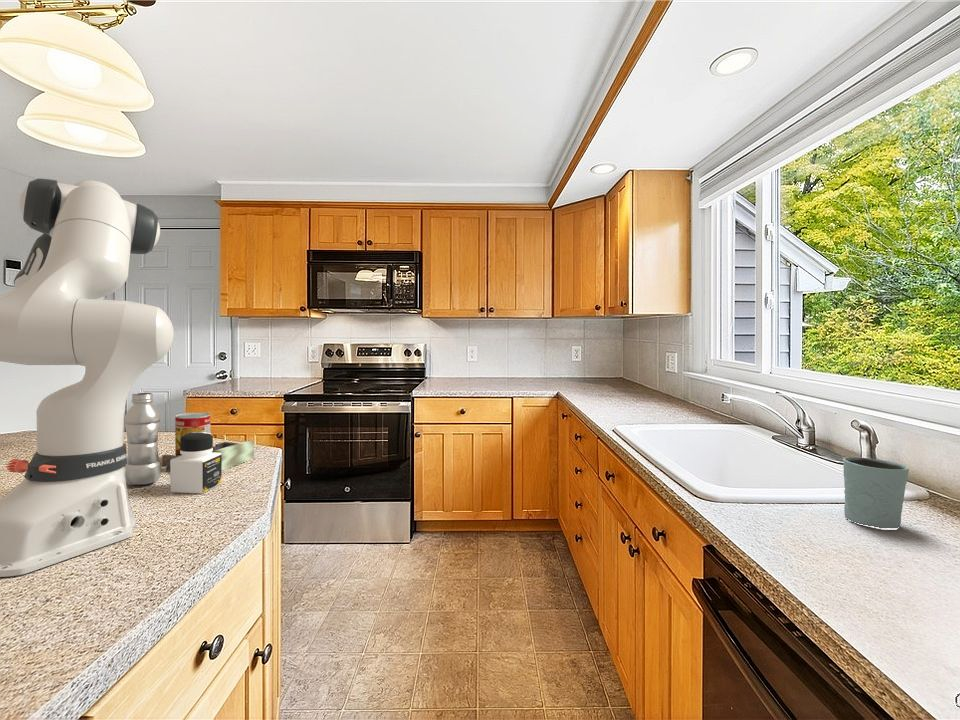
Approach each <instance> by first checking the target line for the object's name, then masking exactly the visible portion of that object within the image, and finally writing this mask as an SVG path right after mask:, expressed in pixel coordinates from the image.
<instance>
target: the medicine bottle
mask: <svg viewBox="0 0 960 720" xmlns="http://www.w3.org/2000/svg"><path fill="white" fill-rule="evenodd" d="M213 440H214V436H213V434H212V433H211V432H210V433H207V432H194V433H188V434H185V435H183V436H182V437H181V438H180V454H182V455H181V456H179V457H176V458H174V459H171V460H170V471H169V476H170V477H169V478H170V479H169V481H170V485H169V487H170V493H173V494H201V495H202V494H203V495H204V494H206V493H207V492H209V491H211V490H213V489H215V488H216V487H218V486H220V485H221V484H222V483H223V482H222V478H223V477H222V473H223V471H222V454H221V453H215V452H212V451H213V446H214V443H213V442H214V441H213Z"/></svg>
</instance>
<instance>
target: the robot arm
mask: <svg viewBox="0 0 960 720" xmlns="http://www.w3.org/2000/svg"><path fill="white" fill-rule="evenodd" d="M18 205H19V206H18V207H19V210H20V214H21V217H22V219H23V222H24V223H25V224H26V225H27V226H28V227H29V228H30V229H31V230H34V231H37V232H38V233H41V235H40V236H38V237H37V238H36V240H35V241H34V243H33V245H32V247H31V249H30V251H29V253H28V256H27V259H26V261H25V262H24V265H23V268H22V269H20V270H19V271H18V273H17V274H16V275H15V277H14V279H13V285H14V289H12V290H11V291H8V292H6V293H4V294H1V295H0V362H3V363H8V364H9V363H10V364H15V365H16V364H17V365H25V366H81V367H85V369H84V375H83V377H82V379H81V380H80V381H78V382H76V383H74V384H70V385H67V386H65V387H63V388H61V389H58V390H56V391H54V392H53V393H50V394H49V395H47V396H46V397H44V398H43V399H42V400H41V401H40V403H39V405H38V406H37V408H36V411H35V412H36V446H37V447H36V449H37V450H36V451H35V452H34V454H33V455H32V457H31V459H30V462H29V461H28V460H26V459H20V458H12V459H10V460H9V461H8V463H6V466H5V468H6V471H8V472H9V473H18V474H22V473H24V475H23V477H24V479H23V480H22V481H21V482H20V483H19V484H17V485H16V486H15V487H13V489H12V490H10V491H9V492H8V493H7V494H5V495H4V496H3V497H2V498H1V499H0V578H3V577H15V576H22V575H25V574H28V573H31V572H34V571H37V570H39V569H43V568H46V567H49V566H52V565H55V564H57V563H61V562H63V561H66V560H69V559H71V558H74V557H77V556H80V555H82V554H83V555H84V554H86V553H89V552H92V551H94V550H97V549H101V548H103V547H106V546H109V545H112V544H114V543H115V544H116V543H118V542H120V541H124V540H126V539H129V538H131V537H132V536H134V531H133V528H134V527H135V525H136V523H137V521H136V517H135V515H134V513H133V510H132V507H131V502H130V500H129V494H128V488H127V481H126V478H125V468H126V464H127V455H128V449H127V444H126V443H125V442H124V427H125V423H124V417H125V414H126V413H125V411H126V404H127V399H128V396H129V393H130V391H131V389H132V388H133V386H134V384H135V383H136V381H138V380H137V379H139V377H140V376H141V375H142V374H143V373H145V371H146V370H147V369H149V368H150V367H152V365H154V364H155V363H157V362H159V361H160V360H162V359H163V358H164V357H165V356H166V355H167V354H168V353H169V351H170V349H171V348H172V346H173V343H174V339H175V330H174V326H173V325H174V324H172V321H171V319H170V317H169V316H168V314H167V313H166V312H165V311H164V310H163V309H162V308H161V307H159V306H156V305H155V306H154V305H150V304H146V303H141V302H136V301H132V300H118V299H106V298H107V296H109V295H112V294H113V293H116V292H117V291H118V290H119V289H121V288H122V287H123V285H124V284H125V283H126V281H127V280H128V278H129V270H130V262H131V261H130V259H131V254H133V255H147V254H149V253H150V252H152V251H153V249H154V248H155V246H156V245H157V244H158V242H159V239H160V236H161V226H160V223H159V217H158V215H157V214H156V213H155V212H154V211H153V210H152V209H151V208H149V207H146V206H144V205H142V204H140V203H132V202H130V201H128V200H125V199H123V198H122V197H121V195H120V193H118V191H117V190H116V189H115V188H114V187H112V186H111V185H109V184H107V183H105V182H103V181H99V180H94V179H88V180H87V179H85V180H80V181H78V182H76V183H74V184H69V183H62V182H59V181H58V180H55V179H50V178H49V179H48V178H36V179H33V180H30V181H29V182H28V184H27V185H26V186H25V187H24V189H22V192H21V193H20V195H19V202H18Z"/></svg>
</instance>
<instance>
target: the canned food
mask: <svg viewBox="0 0 960 720" xmlns="http://www.w3.org/2000/svg"><path fill="white" fill-rule="evenodd" d="M174 421H175V422H174V424H175V425H174V426H175V427H174V429H175V430H174V434H175V435H174V438H175V439H174V442H175V448H174V449H175V450H174V451H175V455H176V456H177V455H182V454H180V438H181V437H182V436H183V435H185V434H188V433H194V432H207V433H210V434H211V413H208V412H187V413H180V414H176V415H175V418H174Z"/></svg>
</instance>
